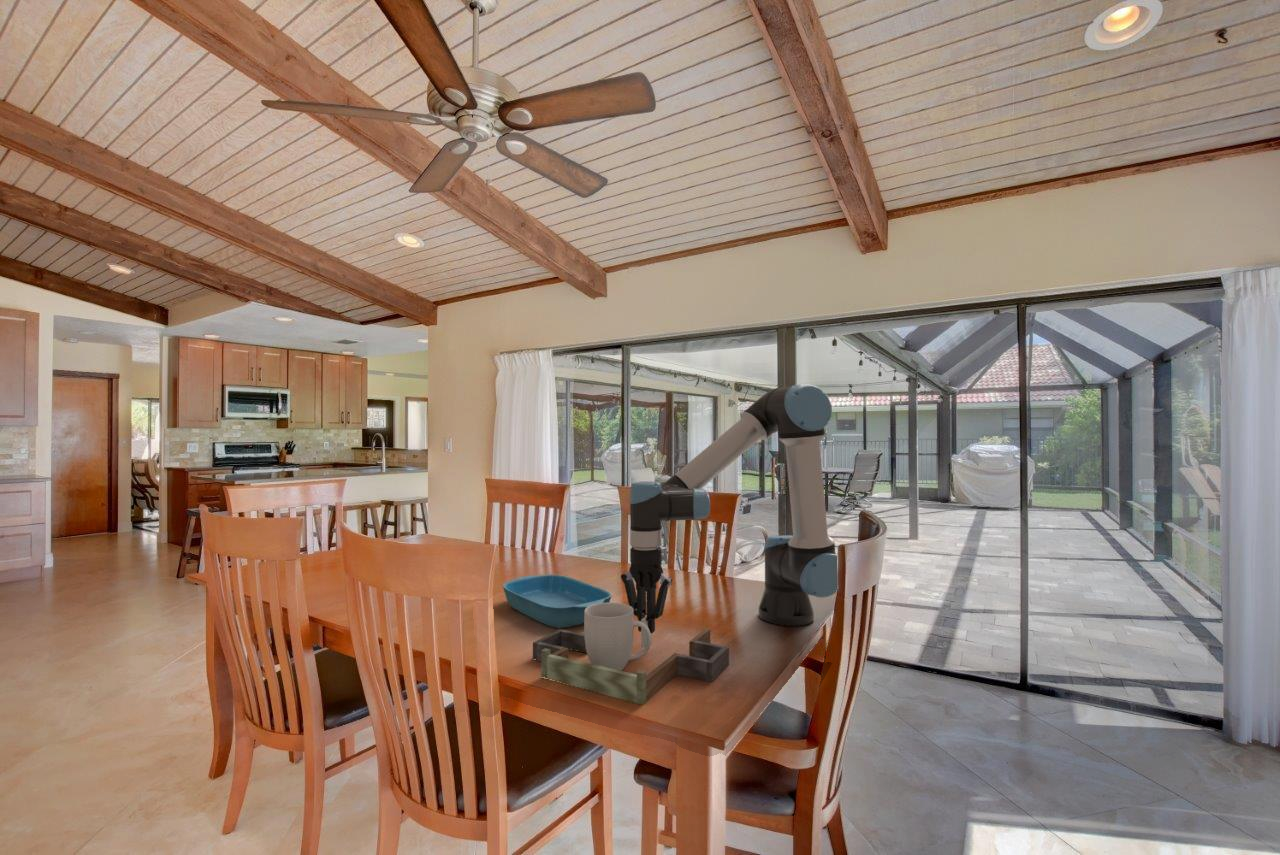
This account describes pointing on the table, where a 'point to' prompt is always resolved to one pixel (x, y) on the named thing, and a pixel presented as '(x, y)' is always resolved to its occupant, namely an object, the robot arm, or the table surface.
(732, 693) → the table surface
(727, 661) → the channel
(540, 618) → the casserole dish
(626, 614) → the mug
